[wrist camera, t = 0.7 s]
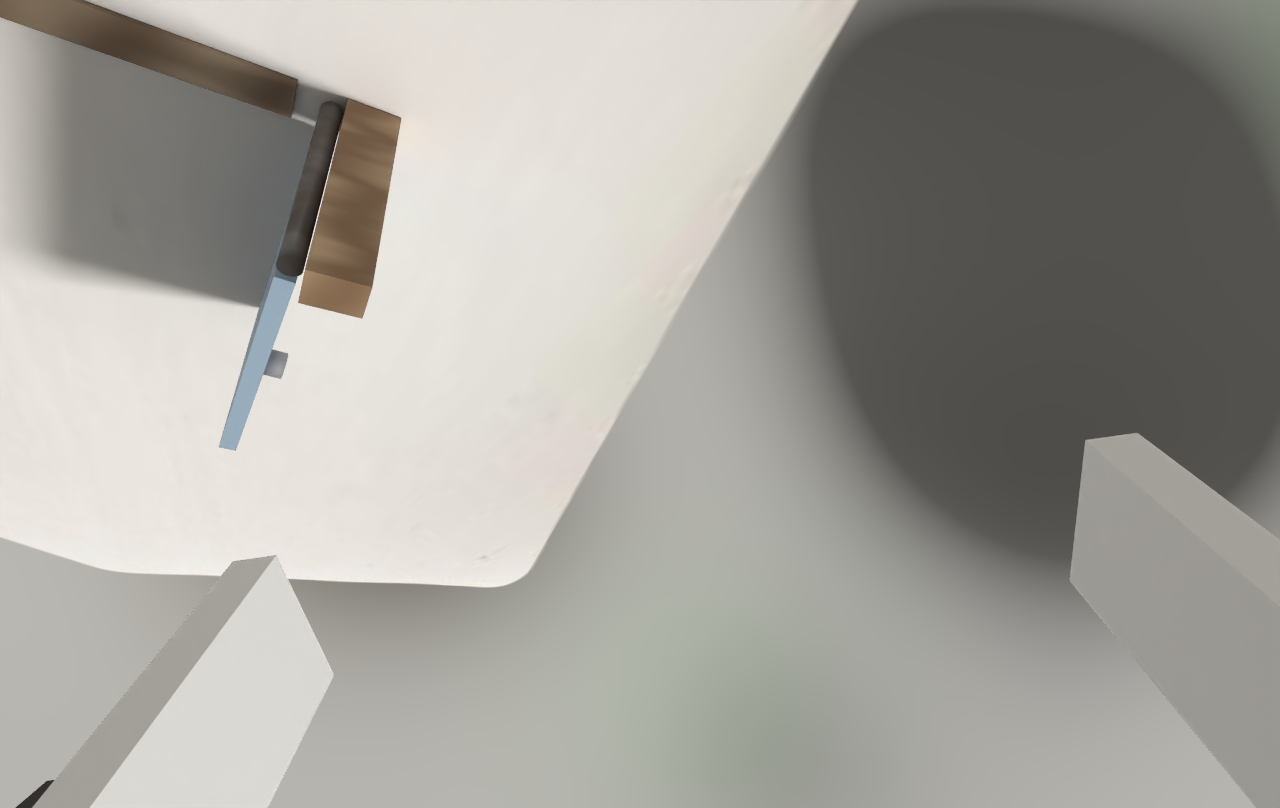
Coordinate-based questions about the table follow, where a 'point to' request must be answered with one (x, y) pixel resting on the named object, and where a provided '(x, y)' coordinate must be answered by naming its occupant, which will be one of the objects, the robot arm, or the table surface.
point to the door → (260, 352)
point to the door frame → (365, 135)
